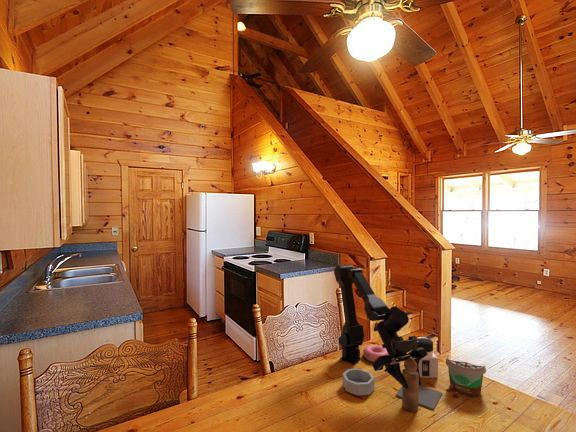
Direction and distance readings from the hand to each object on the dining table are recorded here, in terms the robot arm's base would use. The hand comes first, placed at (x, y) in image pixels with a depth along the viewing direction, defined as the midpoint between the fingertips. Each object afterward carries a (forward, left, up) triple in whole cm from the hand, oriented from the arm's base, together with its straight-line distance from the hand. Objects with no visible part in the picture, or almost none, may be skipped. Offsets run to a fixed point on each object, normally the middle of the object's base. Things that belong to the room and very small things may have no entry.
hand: (413, 386), depth 97 cm
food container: (+11, +21, -8) cm, 25 cm away
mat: (-1, +10, -8) cm, 12 cm away
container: (-4, +26, -8) cm, 27 cm away
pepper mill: (-1, +1, -7) cm, 7 cm away
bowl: (-19, +1, -8) cm, 21 cm away
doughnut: (-23, +26, -8) cm, 36 cm away
